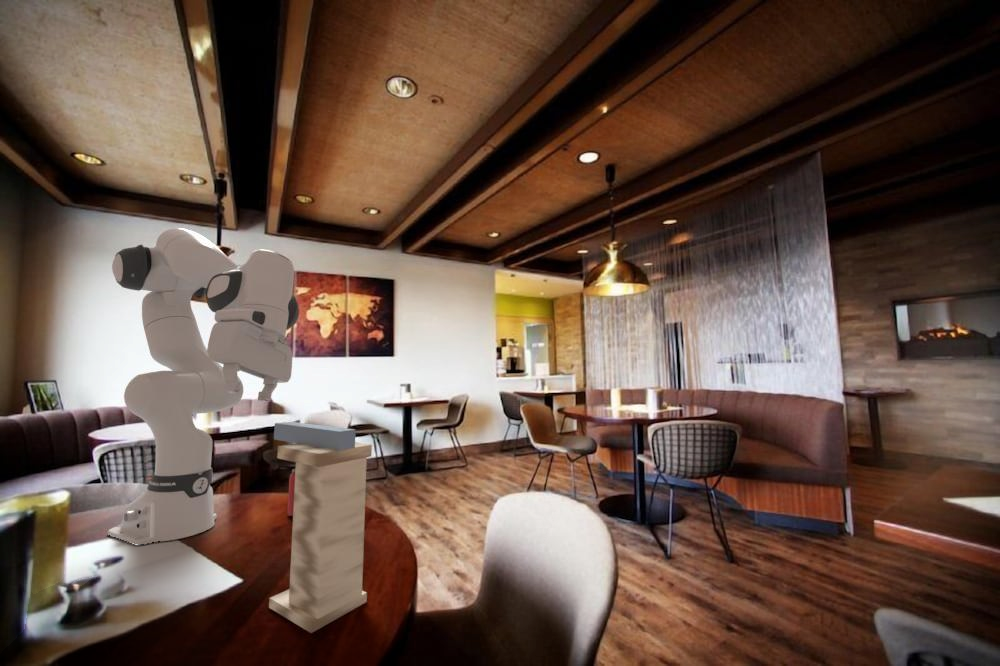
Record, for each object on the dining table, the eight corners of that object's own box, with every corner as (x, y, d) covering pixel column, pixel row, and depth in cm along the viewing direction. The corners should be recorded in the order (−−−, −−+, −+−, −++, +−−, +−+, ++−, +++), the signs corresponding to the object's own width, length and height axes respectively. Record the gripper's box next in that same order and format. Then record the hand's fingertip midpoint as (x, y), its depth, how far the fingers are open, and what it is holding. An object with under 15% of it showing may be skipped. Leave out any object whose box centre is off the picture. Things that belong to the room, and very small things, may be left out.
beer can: (303, 519, 108) (305, 472, 109) (281, 517, 109) (284, 471, 110) (319, 511, 114) (321, 467, 115) (298, 509, 115) (300, 466, 117)
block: (273, 439, 77) (274, 423, 77) (289, 437, 79) (290, 421, 80) (339, 450, 66) (339, 431, 66) (354, 447, 68) (355, 429, 69)
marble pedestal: (268, 607, 67) (277, 446, 70) (324, 581, 75) (330, 438, 78) (311, 633, 60) (319, 453, 63) (366, 602, 69) (371, 444, 71)
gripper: (275, 343, 90) (265, 406, 85) (208, 307, 70) (190, 386, 66) (303, 342, 89) (294, 405, 85) (243, 306, 70) (228, 385, 66)
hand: (248, 396), depth 75 cm, fingers open, 8 cm apart
